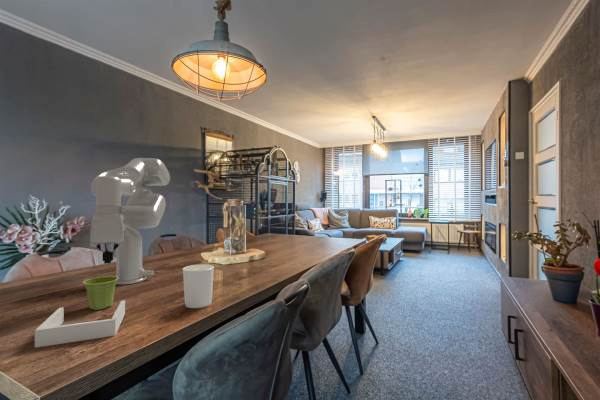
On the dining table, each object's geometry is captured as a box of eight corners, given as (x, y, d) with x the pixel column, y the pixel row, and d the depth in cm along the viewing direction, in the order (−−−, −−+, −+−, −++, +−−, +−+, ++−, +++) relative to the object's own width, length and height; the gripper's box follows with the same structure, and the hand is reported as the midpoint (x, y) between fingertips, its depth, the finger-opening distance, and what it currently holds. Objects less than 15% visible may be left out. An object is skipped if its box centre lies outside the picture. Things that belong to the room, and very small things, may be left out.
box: (125, 313, 89) (125, 300, 89) (115, 335, 74) (115, 319, 74) (59, 322, 82) (59, 307, 82) (34, 347, 68) (34, 330, 68)
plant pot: (80, 314, 88) (80, 285, 88) (85, 304, 96) (85, 278, 96) (116, 309, 92) (116, 281, 92) (119, 300, 101) (119, 274, 101)
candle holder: (187, 299, 102) (187, 264, 102) (216, 298, 103) (216, 264, 103) (178, 309, 92) (178, 271, 92) (210, 308, 93) (210, 270, 93)
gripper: (133, 210, 111) (133, 259, 111) (86, 211, 105) (85, 262, 105) (131, 211, 104) (130, 263, 104) (79, 211, 98) (79, 266, 98)
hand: (107, 262), depth 104 cm, fingers closed
